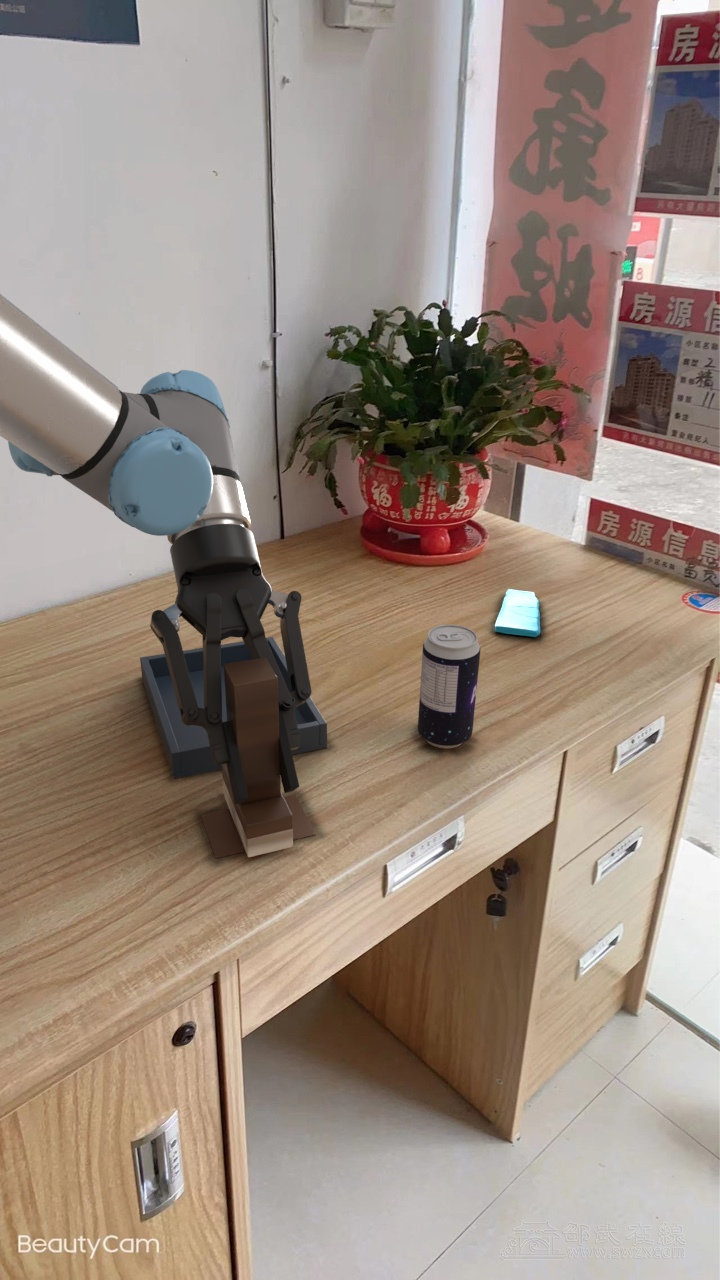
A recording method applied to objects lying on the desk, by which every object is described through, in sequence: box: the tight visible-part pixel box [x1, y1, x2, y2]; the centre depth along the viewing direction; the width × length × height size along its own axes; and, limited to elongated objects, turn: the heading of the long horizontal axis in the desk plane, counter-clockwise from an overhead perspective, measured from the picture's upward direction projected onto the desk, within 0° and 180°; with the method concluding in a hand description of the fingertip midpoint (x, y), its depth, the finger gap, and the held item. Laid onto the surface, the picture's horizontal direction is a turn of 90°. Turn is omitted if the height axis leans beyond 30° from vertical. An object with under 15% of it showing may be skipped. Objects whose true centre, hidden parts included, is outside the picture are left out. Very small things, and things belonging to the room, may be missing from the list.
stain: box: [200, 793, 317, 859], centre depth 79 cm, size 9×6×1 cm, turn 111°
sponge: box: [494, 588, 541, 638], centre depth 117 cm, size 2×12×6 cm
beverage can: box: [417, 624, 481, 749], centre depth 89 cm, size 6×6×12 cm
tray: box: [139, 636, 328, 780], centre depth 95 cm, size 16×20×3 cm
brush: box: [221, 658, 294, 858], centre depth 75 cm, size 9×4×16 cm, turn 21°
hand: (266, 794), depth 73 cm, fingers closed on brush, 4 cm apart
